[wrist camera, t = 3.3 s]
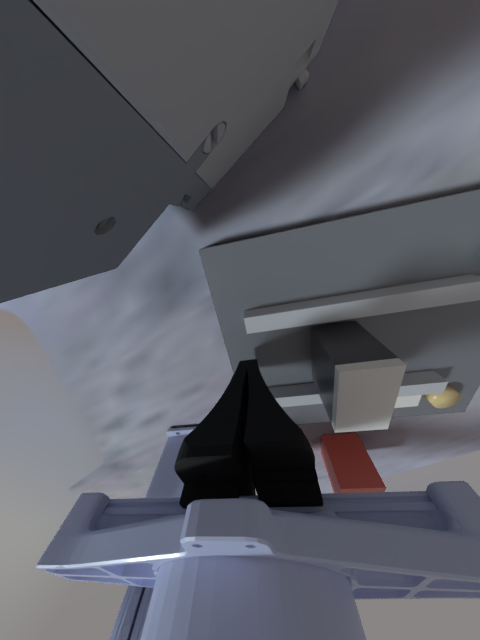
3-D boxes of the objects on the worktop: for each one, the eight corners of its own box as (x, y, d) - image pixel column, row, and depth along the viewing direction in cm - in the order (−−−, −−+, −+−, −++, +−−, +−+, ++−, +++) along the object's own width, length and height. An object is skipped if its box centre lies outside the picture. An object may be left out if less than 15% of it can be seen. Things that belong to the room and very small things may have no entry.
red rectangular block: (321, 452, 23) (338, 506, 19) (321, 434, 21) (340, 489, 17) (353, 451, 23) (379, 505, 18) (356, 432, 21) (385, 487, 16)
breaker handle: (311, 377, 15) (335, 432, 11) (310, 326, 13) (339, 372, 9) (349, 373, 14) (388, 429, 10) (355, 320, 12) (406, 364, 8)
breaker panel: (249, 414, 20) (249, 439, 18) (204, 247, 12) (193, 252, 10) (448, 397, 18) (479, 424, 15) (556, 171, 10) (659, 152, 7)
